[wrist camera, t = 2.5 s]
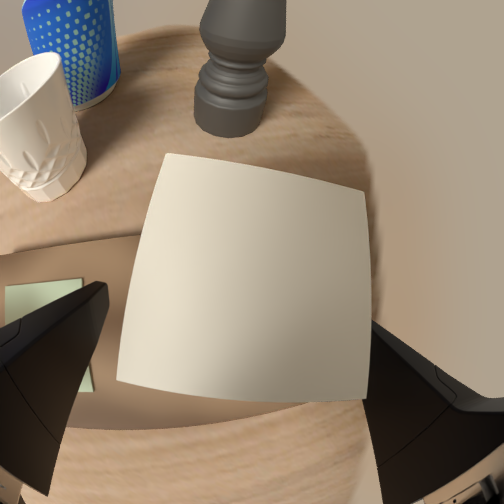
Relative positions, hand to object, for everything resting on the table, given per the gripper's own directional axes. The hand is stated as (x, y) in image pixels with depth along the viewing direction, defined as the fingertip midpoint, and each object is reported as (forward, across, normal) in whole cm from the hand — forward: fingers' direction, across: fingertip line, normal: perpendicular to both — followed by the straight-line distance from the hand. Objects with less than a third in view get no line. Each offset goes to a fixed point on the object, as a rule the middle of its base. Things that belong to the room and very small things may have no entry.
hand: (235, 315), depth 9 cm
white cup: (+13, +16, -1) cm, 21 cm away
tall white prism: (+5, 0, +5) cm, 7 cm away
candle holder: (+19, +2, -7) cm, 21 cm away
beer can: (+21, +18, -9) cm, 29 cm away
